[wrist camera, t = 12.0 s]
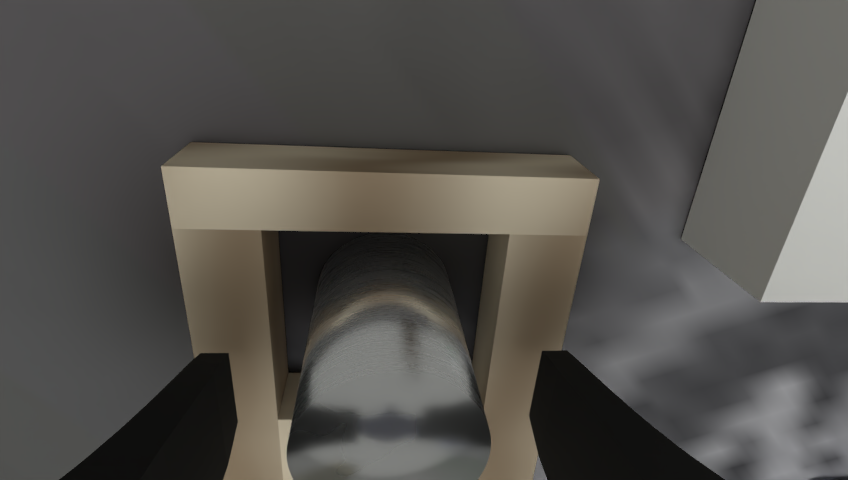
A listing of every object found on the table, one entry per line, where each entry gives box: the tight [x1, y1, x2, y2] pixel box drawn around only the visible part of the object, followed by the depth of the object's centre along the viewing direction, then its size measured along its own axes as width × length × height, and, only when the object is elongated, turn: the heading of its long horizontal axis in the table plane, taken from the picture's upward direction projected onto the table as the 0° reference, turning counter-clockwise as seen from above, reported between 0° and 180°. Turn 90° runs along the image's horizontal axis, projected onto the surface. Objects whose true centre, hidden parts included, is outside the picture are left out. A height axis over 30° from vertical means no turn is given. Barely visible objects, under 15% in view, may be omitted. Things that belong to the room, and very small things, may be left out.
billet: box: [287, 233, 491, 480], centre depth 12 cm, size 4×4×6 cm
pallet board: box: [161, 142, 600, 480], centre depth 17 cm, size 10×21×2 cm, turn 176°
